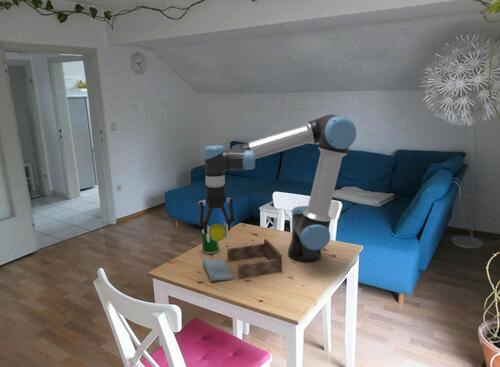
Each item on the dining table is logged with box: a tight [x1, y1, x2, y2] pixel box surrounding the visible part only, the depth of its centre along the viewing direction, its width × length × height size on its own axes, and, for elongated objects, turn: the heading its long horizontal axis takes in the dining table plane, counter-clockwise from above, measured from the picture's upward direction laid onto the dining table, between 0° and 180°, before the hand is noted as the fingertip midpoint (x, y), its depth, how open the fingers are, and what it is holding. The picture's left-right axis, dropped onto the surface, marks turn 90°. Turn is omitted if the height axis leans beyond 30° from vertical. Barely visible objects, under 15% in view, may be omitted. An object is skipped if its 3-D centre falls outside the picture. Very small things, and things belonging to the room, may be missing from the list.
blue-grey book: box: [202, 257, 234, 281], centre depth 154 cm, size 2×17×9 cm
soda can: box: [201, 225, 220, 255], centre depth 173 cm, size 8×8×12 cm
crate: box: [226, 238, 283, 280], centre depth 158 cm, size 19×18×8 cm
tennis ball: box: [209, 223, 226, 242], centre depth 150 cm, size 7×7×7 cm
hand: (217, 239), depth 151 cm, fingers closed on tennis ball, 7 cm apart
